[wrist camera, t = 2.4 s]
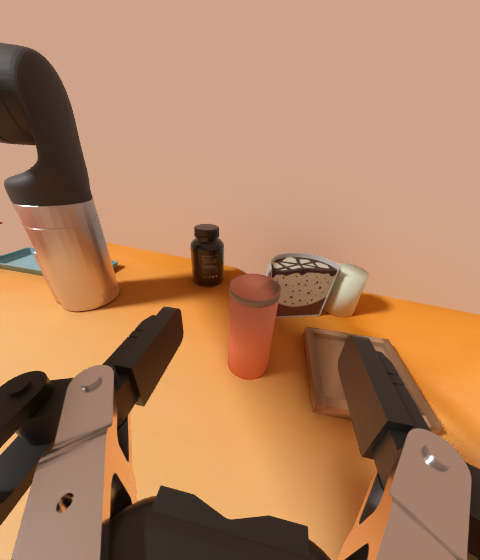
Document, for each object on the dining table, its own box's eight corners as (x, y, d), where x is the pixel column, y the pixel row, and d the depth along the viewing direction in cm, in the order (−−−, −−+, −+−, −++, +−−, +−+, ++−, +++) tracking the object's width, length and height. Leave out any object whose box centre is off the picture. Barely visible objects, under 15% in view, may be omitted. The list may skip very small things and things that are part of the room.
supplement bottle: (228, 276, 48) (229, 225, 42) (213, 290, 43) (212, 234, 37) (203, 270, 50) (201, 220, 45) (186, 282, 45) (181, 228, 39)
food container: (313, 296, 43) (325, 251, 38) (327, 315, 37) (344, 266, 32) (254, 298, 41) (259, 251, 36) (261, 318, 36) (268, 267, 31)
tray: (313, 411, 22) (316, 403, 22) (303, 334, 33) (305, 326, 32) (434, 436, 21) (442, 428, 20) (384, 347, 31) (388, 339, 30)
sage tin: (323, 314, 37) (335, 276, 33) (318, 296, 43) (328, 261, 39) (357, 319, 37) (374, 281, 33) (348, 300, 42) (362, 265, 38)
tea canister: (223, 375, 26) (223, 296, 20) (232, 342, 31) (235, 271, 25) (266, 383, 25) (280, 304, 19) (269, 349, 30) (281, 277, 24)
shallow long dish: (121, 268, 50) (118, 259, 49) (90, 287, 42) (86, 277, 41) (33, 255, 54) (28, 246, 53) (-10, 270, 46) (-16, 260, 45)
